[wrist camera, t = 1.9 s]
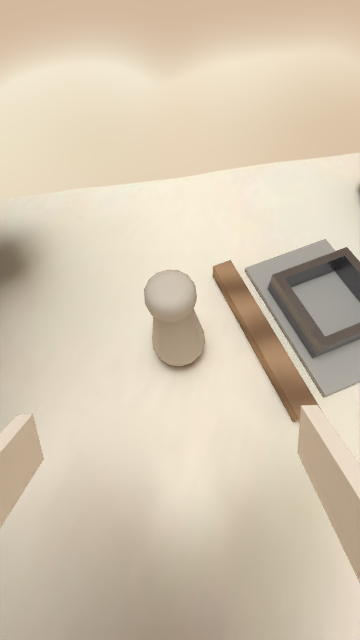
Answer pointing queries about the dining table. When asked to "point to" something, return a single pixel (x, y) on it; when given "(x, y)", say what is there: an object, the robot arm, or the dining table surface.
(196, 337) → the salt shaker
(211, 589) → the dining table surface
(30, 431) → the robot arm
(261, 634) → the dining table surface
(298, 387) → the door-edge bar
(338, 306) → the keeper plate
